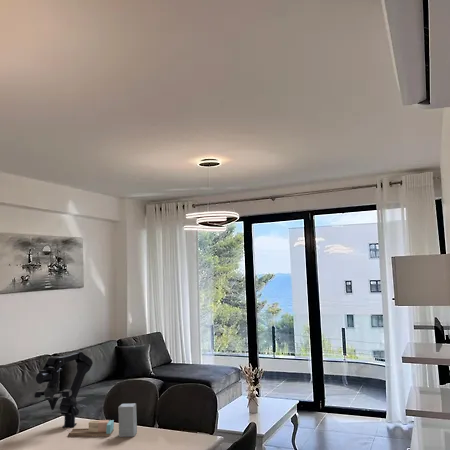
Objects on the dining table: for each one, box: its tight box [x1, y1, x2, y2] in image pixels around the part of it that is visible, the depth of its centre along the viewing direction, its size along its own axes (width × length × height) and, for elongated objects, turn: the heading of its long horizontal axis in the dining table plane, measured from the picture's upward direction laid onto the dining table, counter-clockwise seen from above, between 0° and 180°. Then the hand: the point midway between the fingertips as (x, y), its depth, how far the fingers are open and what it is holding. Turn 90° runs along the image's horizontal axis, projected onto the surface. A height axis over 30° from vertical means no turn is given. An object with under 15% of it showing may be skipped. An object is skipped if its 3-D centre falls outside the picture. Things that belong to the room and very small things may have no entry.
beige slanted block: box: [88, 419, 101, 432], centre depth 249 cm, size 4×5×5 cm
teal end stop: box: [106, 419, 115, 434], centre depth 249 cm, size 9×2×4 cm, turn 2°
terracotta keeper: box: [98, 419, 110, 432], centre depth 249 cm, size 4×5×5 cm
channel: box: [67, 427, 115, 438], centre depth 248 cm, size 9×22×2 cm, turn 92°
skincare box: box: [117, 402, 138, 438], centre depth 246 cm, size 8×7×16 cm
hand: (52, 409), depth 252 cm, fingers closed
